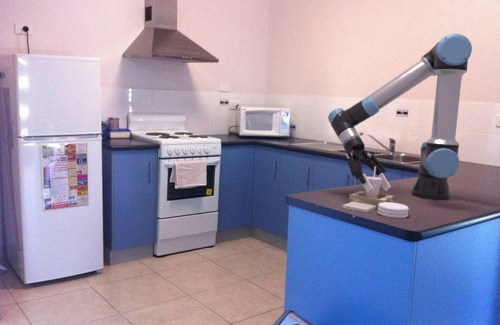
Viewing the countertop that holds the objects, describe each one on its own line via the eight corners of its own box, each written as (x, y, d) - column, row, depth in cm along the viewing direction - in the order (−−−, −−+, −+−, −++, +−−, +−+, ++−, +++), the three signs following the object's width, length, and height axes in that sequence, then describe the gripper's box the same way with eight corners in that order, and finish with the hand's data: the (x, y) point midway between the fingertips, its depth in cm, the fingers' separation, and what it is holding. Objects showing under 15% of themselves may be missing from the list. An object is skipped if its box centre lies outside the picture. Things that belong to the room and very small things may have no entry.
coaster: (395, 220, 150) (396, 209, 150) (371, 213, 158) (372, 203, 158) (413, 217, 156) (414, 207, 156) (389, 210, 164) (390, 201, 164)
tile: (351, 204, 170) (352, 201, 170) (375, 208, 165) (376, 205, 165) (342, 208, 162) (342, 205, 162) (367, 212, 157) (367, 209, 157)
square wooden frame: (360, 197, 183) (361, 190, 182) (393, 203, 176) (394, 195, 175) (348, 202, 172) (349, 194, 172) (382, 208, 165) (383, 200, 165)
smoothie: (382, 203, 175) (385, 166, 173) (376, 205, 169) (380, 168, 168) (365, 200, 178) (369, 164, 176) (359, 202, 173) (363, 166, 171)
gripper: (365, 148, 190) (392, 193, 179) (326, 148, 178) (352, 197, 167) (376, 136, 185) (404, 182, 174) (337, 136, 173) (364, 185, 162)
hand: (379, 189), depth 170 cm, fingers open, 9 cm apart
